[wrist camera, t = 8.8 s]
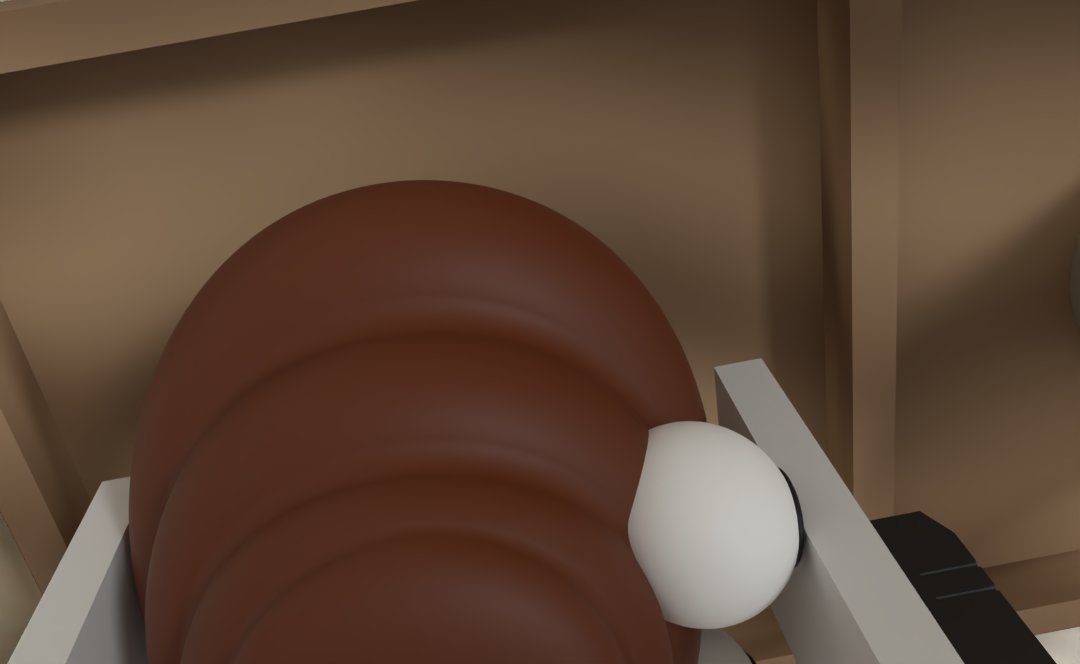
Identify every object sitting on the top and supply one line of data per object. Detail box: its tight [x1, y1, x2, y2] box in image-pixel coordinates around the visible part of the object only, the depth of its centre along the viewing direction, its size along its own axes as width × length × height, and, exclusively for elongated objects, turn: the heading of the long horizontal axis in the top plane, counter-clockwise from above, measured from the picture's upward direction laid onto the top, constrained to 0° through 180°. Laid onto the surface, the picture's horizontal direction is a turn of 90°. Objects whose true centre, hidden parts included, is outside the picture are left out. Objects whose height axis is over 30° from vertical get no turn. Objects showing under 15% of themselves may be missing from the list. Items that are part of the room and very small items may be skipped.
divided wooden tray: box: [0, 0, 1080, 664], centre depth 18 cm, size 16×31×2 cm, turn 99°
